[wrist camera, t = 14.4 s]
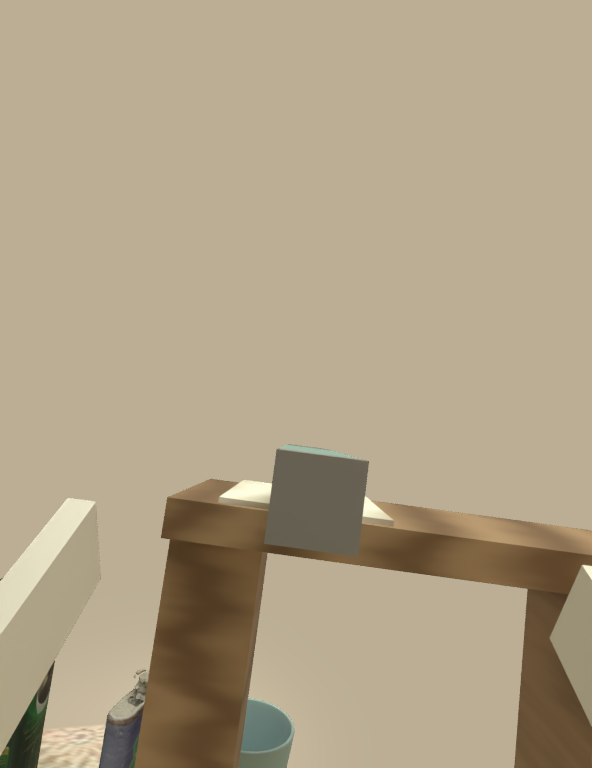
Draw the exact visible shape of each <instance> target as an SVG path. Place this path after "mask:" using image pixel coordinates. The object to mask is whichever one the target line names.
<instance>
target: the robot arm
mask: <svg viewBox="0 0 592 768" xmlns="http://www.w3.org/2000/svg"><path fill="white" fill-rule="evenodd" d="M100 579H101V574H100V558H99V542H98V526H97V512H96V502H94V501H87V500H79V499H72V498H68V499H67V500H66V501H65V502H64V504H63V505H62V506H61V507H60V509H59V510H58V511H57V512H56V514H55V515H54V516H53V517H52V518H51V520H50V521H49V522H48V523H47V525H46V526H45V527H44V528H43V529H42V531H41V532H40V533H39V534H38V536H37V537H36V538H35V539H34V540H33V542H32V543H31V544H30V545H29V547H28V548H27V549H26V550H25V552H24V553H23V554H22V556H21V557H20V558H19V559H18V560H17V561H16V563H15V564H14V565H13V566H12V568H11V569H10V570H9V571H8V573H7V574H6V575H5V576H4V577H3V579H2V580H1V581H0V756H1V754H2V752H3V750H4V748H5V747H6V745H7V743H8V741H9V740H10V738H11V736H12V734H13V733H14V731H15V729H16V727H17V726H18V724H19V722H20V720H21V719H22V717H23V715H24V713H25V711H26V710H27V708H28V706H29V704H30V703H31V701H32V699H33V697H34V696H35V694H36V692H37V690H38V689H39V687H40V685H41V683H42V682H43V680H44V678H45V676H46V674H47V673H48V671H49V669H50V667H51V666H52V664H53V662H54V660H55V659H56V657H57V655H58V653H59V652H60V650H61V648H62V646H63V645H64V643H65V641H66V639H67V637H68V636H69V634H70V632H71V630H72V629H73V627H74V625H75V623H76V622H77V620H78V618H79V616H80V614H81V613H82V611H83V609H84V607H85V606H86V604H87V602H88V600H89V599H90V597H91V595H92V593H93V592H94V590H95V588H96V586H97V585H98V583H99V581H100ZM550 640H551V642H552V644H553V647H554V649H555V651H556V653H557V655H558V657H559V659H560V661H561V663H562V665H563V668H564V670H565V672H566V674H567V676H568V678H569V680H570V682H571V684H572V686H573V689H574V691H575V693H576V695H577V697H578V699H579V701H580V703H581V705H582V707H583V710H584V712H585V714H586V716H587V718H588V720H589V722H590V724H591V726H592V566H587V565H582V566H581V568H580V570H579V573H578V575H577V577H576V579H575V582H574V584H573V586H572V588H571V591H570V593H569V595H568V597H567V600H566V602H565V604H564V606H563V609H562V611H561V613H560V615H559V618H558V620H557V622H556V624H555V627H554V629H553V631H552V633H551V636H550Z"/></svg>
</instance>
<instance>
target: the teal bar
mask: <svg viewBox="0 0 592 768" xmlns="http://www.w3.org/2000/svg"><path fill="white" fill-rule="evenodd" d="M368 464H369V461H366V460H362V459H359V458H355V457H352V456H348V455H345V454H342V453H338V452H335V451H331V450H327V449H321V448H313V447H305V446H298V445H290V444H289V445H287V446H284V447H281V448H278V449H277V451H276V459H275V466H274V474H273V481H272V488H271V496H270V503H269V510H268V518H267V525H266V532H265V540H264V544H270V545H277V546H284V547H291V548H299V549H306V550H313V551H320V552H328V553H335V554H342V555H350V556H357V557H358V553H359V544H360V535H361V526H362V517H363V509H364V500H365V491H366V482H367V473H368Z"/></svg>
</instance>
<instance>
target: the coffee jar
mask: <svg viewBox="0 0 592 768" xmlns="http://www.w3.org/2000/svg"><path fill="white" fill-rule="evenodd" d="M2 579H3V578H2ZM2 579H0V581H1V580H2ZM54 663H55V660H54V662H53V664H52V666H51V667H50V669H49V671H48V673H47V674H46V676H45V678H44V680H43V682H42V683H41V685H40V687H39V689H38V690H37V692H36V694H35V696H34V697H33V699H32V701H31V703H30V704H29V706H28V708H27V710H26V711H25V713H24V715H23V717H22V719H21V720H20V722H19V724H18V726H17V727H16V729H15V731H14V733H13V734H12V736H11V738H10V740H9V741H8V743H7V745H6V747H5V748H4V750H3V752H2V754H1V756H0V768H37V765H38V759H39V752H40V746H41V739H42V733H43V726H44V720H45V715H46V709H47V704H48V698H49V692H50V686H51V680H52V674H53V668H54Z"/></svg>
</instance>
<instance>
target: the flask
mask: <svg viewBox="0 0 592 768" xmlns="http://www.w3.org/2000/svg"><path fill="white" fill-rule="evenodd" d="M143 671H146V670H145V669H141V670H138V671H137V672H136V674H140V673H142V672H143ZM135 677H136V675H134V678H135ZM148 677H149V671H148V672H146V673H144V674H142V675H140V676H139V682H138V684H137V685H136V686H135V689H133V690H132V691H131V692H130V693H129V694H127V695H126V696H125V697H124V698H122V700H120V701H119V702H118V703H117V704H116V705H115V706H114V707H113V708H112V710H110V712H109V713H108V715H107V722H106V729H105V734H104V740H103V747H102V752H101V758H100V764H99V768H134V766H135V760H136V753H137V747H138V741H139V734H140V728H141V722H142V715H143V709H144V702H145V696H146V690H147V683H148Z"/></svg>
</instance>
